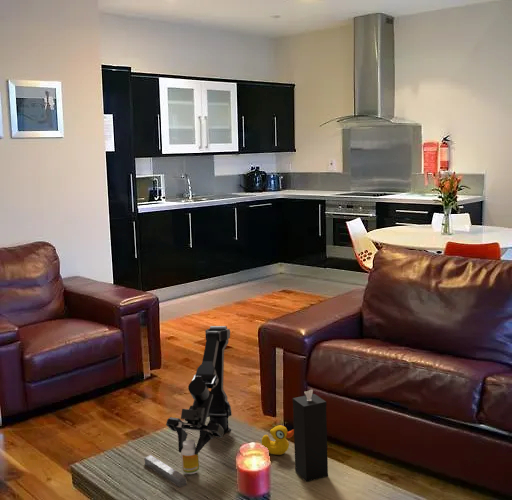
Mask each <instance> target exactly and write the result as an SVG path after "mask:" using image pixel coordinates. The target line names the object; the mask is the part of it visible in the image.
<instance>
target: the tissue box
mask: <svg viewBox="0 0 512 500" xmlns="http://www.w3.org/2000/svg"><path fill="white" fill-rule="evenodd" d="M313 392H314V389H309V390H307V391H304V395H302V396H298V397H292V411H293V414H292V415H293V429H294V435H293V440H294V441H293V442H294V443H293V444H294V445H293V446H294V467H295V468H294V470H295V473H296V474H297V475H299V477H301V478H302V479H303V480H304V482H312V481H317V480H318V479H323V478H327V477H329V468H328V467H329V466H328V463H329V461H328V429H327V427H328V425H327V407H328V405H327V401H326V400H324V399H323V398H321V396H319V395H317V394H315V393H313Z"/></svg>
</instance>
